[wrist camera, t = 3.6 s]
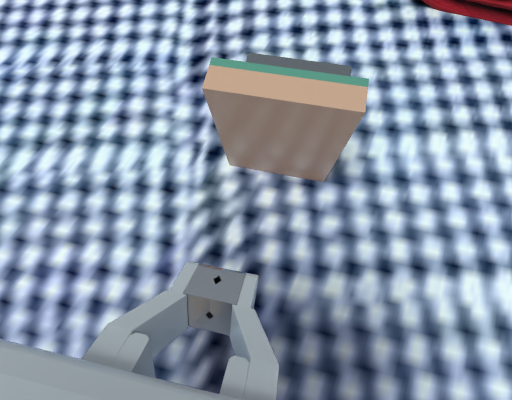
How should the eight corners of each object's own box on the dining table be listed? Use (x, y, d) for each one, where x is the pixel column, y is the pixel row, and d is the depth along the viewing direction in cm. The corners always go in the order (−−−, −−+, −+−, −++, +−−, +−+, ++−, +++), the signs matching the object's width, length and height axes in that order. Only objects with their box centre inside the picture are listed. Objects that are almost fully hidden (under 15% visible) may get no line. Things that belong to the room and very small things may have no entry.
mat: (337, 155, 28) (339, 152, 27) (227, 136, 29) (226, 134, 28) (349, 70, 30) (351, 66, 30) (249, 56, 32) (248, 52, 31)
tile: (323, 181, 27) (364, 112, 15) (229, 165, 28) (202, 88, 16) (326, 160, 28) (368, 78, 16) (234, 145, 29) (211, 57, 17)
